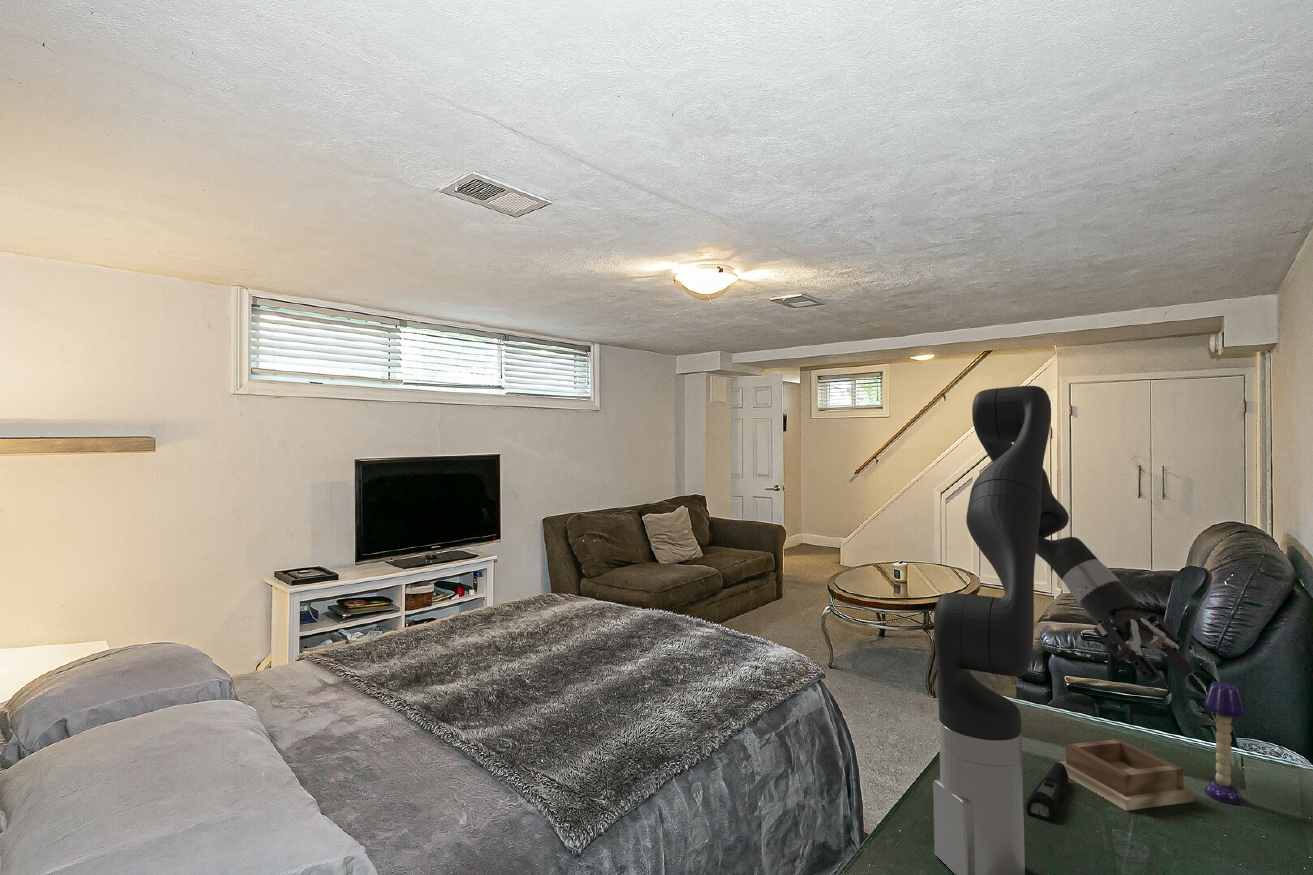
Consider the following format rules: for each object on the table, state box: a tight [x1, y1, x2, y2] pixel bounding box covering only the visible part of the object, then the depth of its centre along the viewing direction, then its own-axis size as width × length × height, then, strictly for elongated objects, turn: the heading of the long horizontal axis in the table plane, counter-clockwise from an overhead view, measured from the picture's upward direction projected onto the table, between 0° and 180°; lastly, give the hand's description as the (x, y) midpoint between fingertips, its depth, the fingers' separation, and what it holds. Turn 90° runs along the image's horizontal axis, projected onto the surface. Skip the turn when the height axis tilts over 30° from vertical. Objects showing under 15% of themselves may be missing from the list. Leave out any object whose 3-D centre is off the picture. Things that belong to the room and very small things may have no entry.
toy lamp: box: [1203, 681, 1246, 805], centre depth 96 cm, size 5×5×17 cm
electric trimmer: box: [1025, 761, 1069, 823], centre depth 96 cm, size 4×16×3 cm, turn 138°
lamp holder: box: [1058, 738, 1195, 811], centre depth 99 cm, size 12×12×4 cm
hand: (1173, 677), depth 102 cm, fingers open, 8 cm apart
